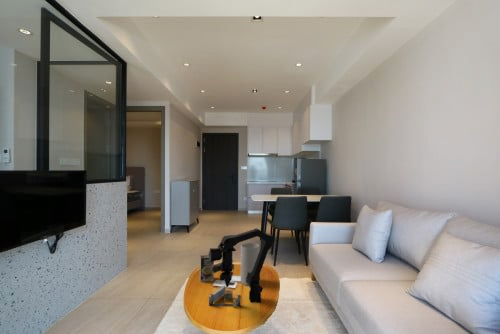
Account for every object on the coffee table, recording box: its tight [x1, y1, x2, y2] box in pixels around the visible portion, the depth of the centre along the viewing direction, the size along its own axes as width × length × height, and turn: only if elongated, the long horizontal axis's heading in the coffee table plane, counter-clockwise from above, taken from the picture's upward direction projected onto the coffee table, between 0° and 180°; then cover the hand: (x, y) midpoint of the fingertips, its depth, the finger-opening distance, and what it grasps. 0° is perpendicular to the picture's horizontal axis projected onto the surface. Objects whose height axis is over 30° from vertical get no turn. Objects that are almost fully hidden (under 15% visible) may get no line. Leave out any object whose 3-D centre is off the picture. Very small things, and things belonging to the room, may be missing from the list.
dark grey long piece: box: [208, 293, 242, 309], centre depth 155 cm, size 18×4×6 cm, turn 88°
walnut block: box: [223, 289, 234, 302], centre depth 163 cm, size 4×4×4 cm
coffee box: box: [199, 254, 215, 283], centre depth 191 cm, size 9×6×16 cm
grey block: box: [212, 285, 226, 303], centre depth 163 cm, size 12×2×5 cm, turn 153°
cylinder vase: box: [240, 242, 260, 287], centre depth 188 cm, size 12×12×25 cm
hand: (227, 286), depth 156 cm, fingers closed
